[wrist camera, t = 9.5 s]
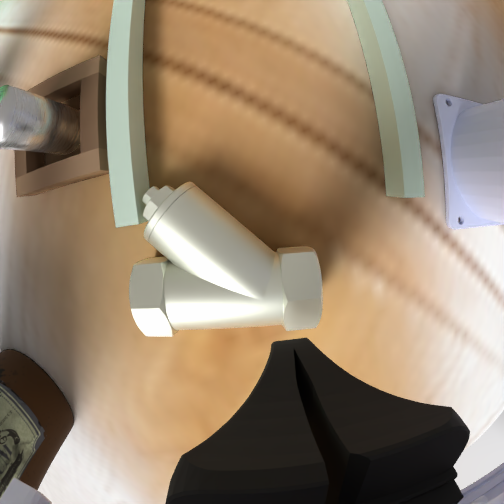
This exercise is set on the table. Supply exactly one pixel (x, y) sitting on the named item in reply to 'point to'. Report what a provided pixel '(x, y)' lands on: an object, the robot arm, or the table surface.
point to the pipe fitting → (217, 271)
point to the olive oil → (29, 420)
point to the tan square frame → (91, 131)
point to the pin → (37, 123)
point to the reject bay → (132, 113)
